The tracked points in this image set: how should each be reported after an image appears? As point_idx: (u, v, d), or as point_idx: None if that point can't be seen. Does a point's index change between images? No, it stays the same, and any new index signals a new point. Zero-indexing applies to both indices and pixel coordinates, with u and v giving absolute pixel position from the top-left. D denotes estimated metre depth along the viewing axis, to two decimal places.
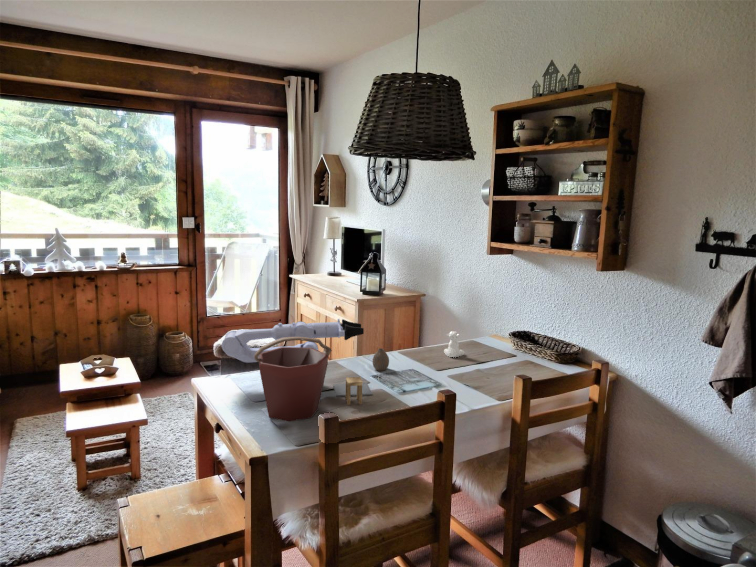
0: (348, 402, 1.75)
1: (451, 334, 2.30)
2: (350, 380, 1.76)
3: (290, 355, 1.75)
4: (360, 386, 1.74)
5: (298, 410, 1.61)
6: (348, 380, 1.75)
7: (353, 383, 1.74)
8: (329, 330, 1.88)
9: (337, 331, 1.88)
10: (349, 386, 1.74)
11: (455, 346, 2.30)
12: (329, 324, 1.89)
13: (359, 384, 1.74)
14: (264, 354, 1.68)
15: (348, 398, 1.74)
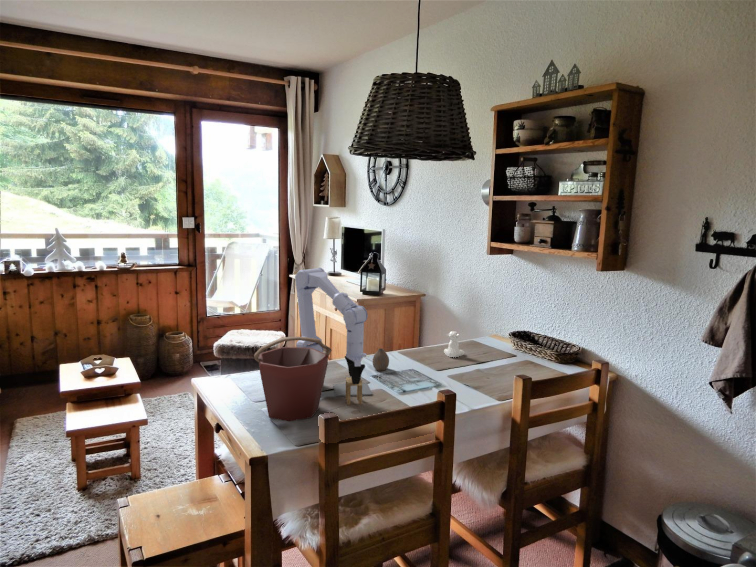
0: (348, 402, 1.75)
1: (451, 334, 2.30)
2: (350, 380, 1.76)
3: (290, 355, 1.75)
4: (360, 386, 1.74)
5: (298, 410, 1.61)
6: (348, 380, 1.75)
7: None
8: (357, 347, 1.72)
9: (355, 355, 1.72)
10: (349, 386, 1.74)
11: (455, 346, 2.30)
12: (362, 345, 1.73)
13: (359, 384, 1.74)
14: (264, 354, 1.68)
15: (348, 398, 1.74)
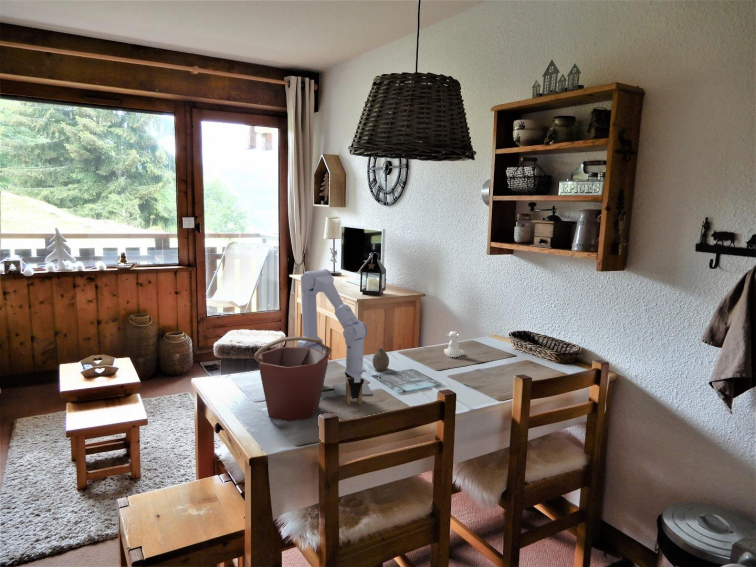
0: (348, 402, 1.75)
1: (451, 334, 2.30)
2: None
3: (290, 355, 1.75)
4: None
5: (298, 410, 1.61)
6: None
7: None
8: (356, 363, 1.73)
9: (355, 371, 1.73)
10: (349, 386, 1.74)
11: (455, 346, 2.30)
12: (362, 361, 1.74)
13: None
14: (264, 354, 1.68)
15: (348, 398, 1.74)
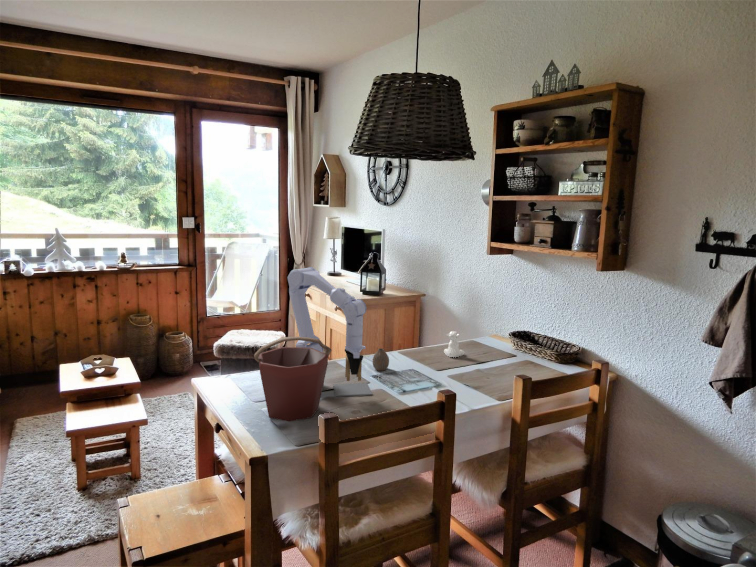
0: (348, 378, 1.78)
1: (451, 334, 2.30)
2: None
3: (290, 355, 1.75)
4: None
5: (298, 410, 1.61)
6: None
7: None
8: (356, 339, 1.76)
9: (354, 348, 1.76)
10: None
11: (455, 346, 2.30)
12: (361, 338, 1.78)
13: None
14: (264, 354, 1.68)
15: (348, 374, 1.78)
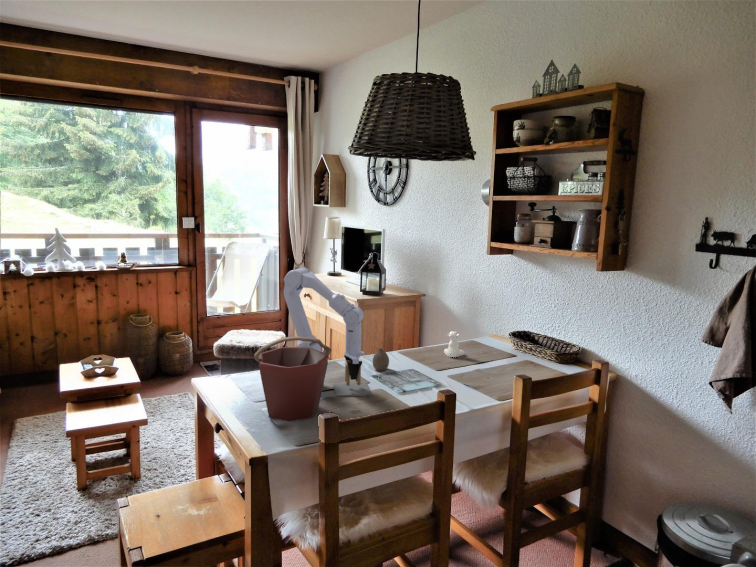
0: (347, 383, 1.84)
1: (451, 334, 2.30)
2: None
3: (290, 355, 1.75)
4: None
5: (298, 410, 1.61)
6: None
7: None
8: (355, 345, 1.82)
9: (354, 353, 1.83)
10: (348, 368, 1.84)
11: (455, 346, 2.30)
12: (360, 344, 1.84)
13: None
14: (264, 354, 1.68)
15: (347, 379, 1.84)
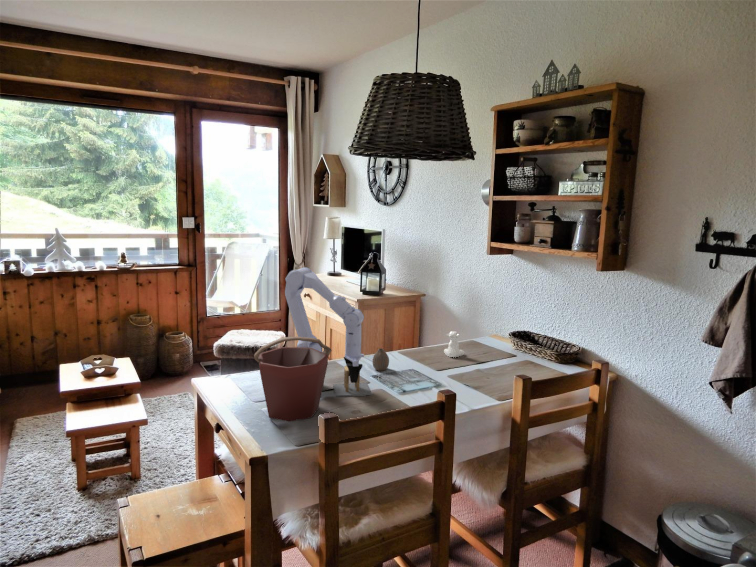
0: (346, 389, 1.85)
1: (451, 334, 2.30)
2: None
3: (290, 355, 1.75)
4: None
5: (298, 410, 1.61)
6: (346, 368, 1.86)
7: None
8: (355, 348, 1.83)
9: (354, 356, 1.83)
10: (347, 374, 1.84)
11: (455, 346, 2.30)
12: (360, 346, 1.84)
13: None
14: (264, 354, 1.68)
15: (346, 385, 1.85)
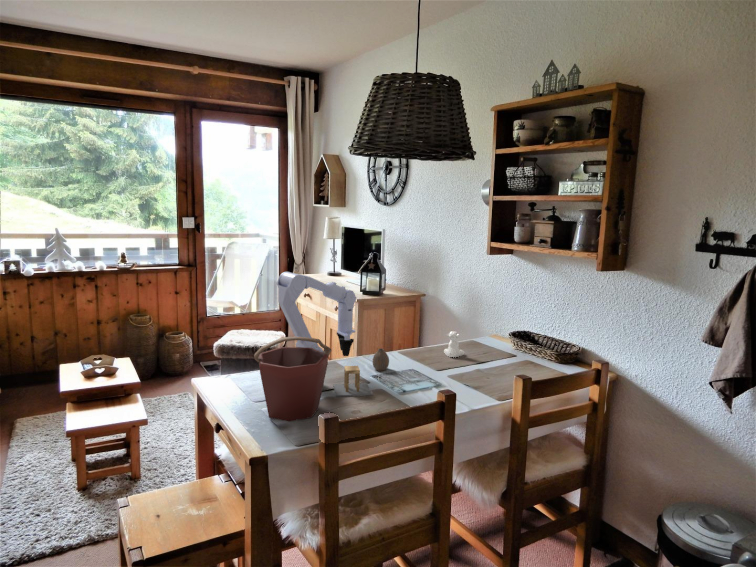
0: (346, 389, 1.85)
1: (451, 334, 2.30)
2: (348, 368, 1.86)
3: (290, 355, 1.75)
4: (358, 374, 1.85)
5: (298, 410, 1.61)
6: (346, 368, 1.86)
7: (351, 371, 1.84)
8: (347, 324, 1.97)
9: (345, 331, 1.97)
10: (347, 374, 1.84)
11: (455, 346, 2.30)
12: (351, 322, 1.99)
13: (357, 372, 1.84)
14: (264, 354, 1.68)
15: (346, 385, 1.85)
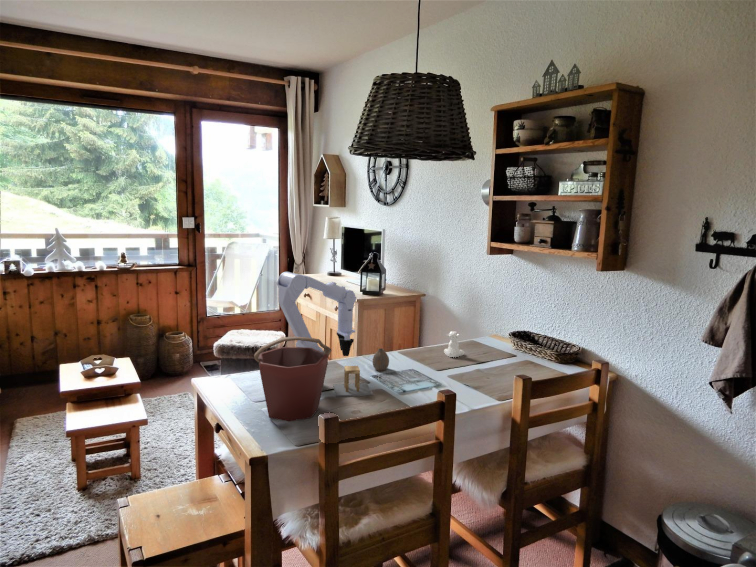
0: (346, 389, 1.85)
1: (451, 334, 2.30)
2: (348, 368, 1.86)
3: (290, 355, 1.75)
4: (358, 374, 1.85)
5: (298, 410, 1.61)
6: (346, 368, 1.86)
7: (351, 371, 1.84)
8: (347, 324, 1.97)
9: (345, 331, 1.97)
10: (347, 374, 1.84)
11: (455, 346, 2.30)
12: (351, 322, 1.99)
13: (357, 372, 1.84)
14: (264, 354, 1.68)
15: (346, 385, 1.85)
